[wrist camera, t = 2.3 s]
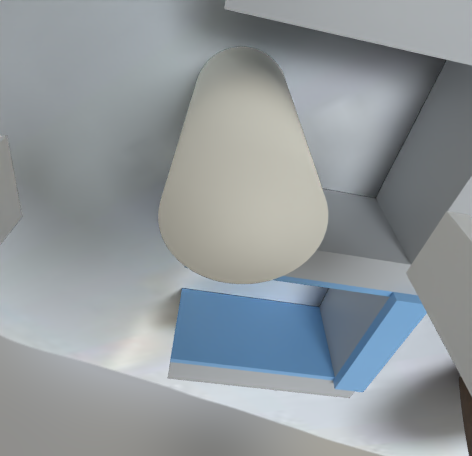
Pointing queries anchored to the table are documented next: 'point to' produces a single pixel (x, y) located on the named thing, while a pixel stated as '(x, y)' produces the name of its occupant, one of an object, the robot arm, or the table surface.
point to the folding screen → (350, 226)
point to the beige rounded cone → (242, 176)
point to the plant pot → (466, 413)
